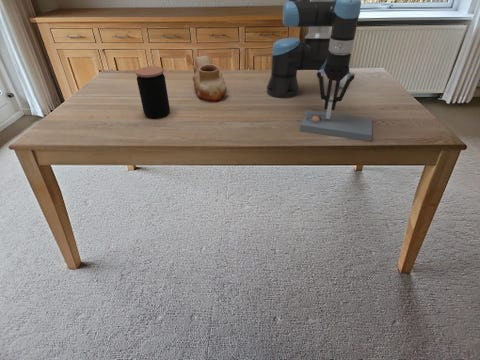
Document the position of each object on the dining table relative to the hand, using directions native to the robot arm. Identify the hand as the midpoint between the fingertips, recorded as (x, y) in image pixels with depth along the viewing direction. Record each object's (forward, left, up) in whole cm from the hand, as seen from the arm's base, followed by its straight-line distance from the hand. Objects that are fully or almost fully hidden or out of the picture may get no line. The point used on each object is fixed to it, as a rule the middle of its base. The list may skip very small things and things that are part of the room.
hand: (327, 117), depth 116 cm
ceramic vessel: (-57, +18, -4) cm, 60 cm away
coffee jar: (-68, -11, -4) cm, 69 cm away
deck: (+4, 0, -4) cm, 5 cm away
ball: (-4, 0, -2) cm, 5 cm away
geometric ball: (+2, +44, -4) cm, 45 cm away
